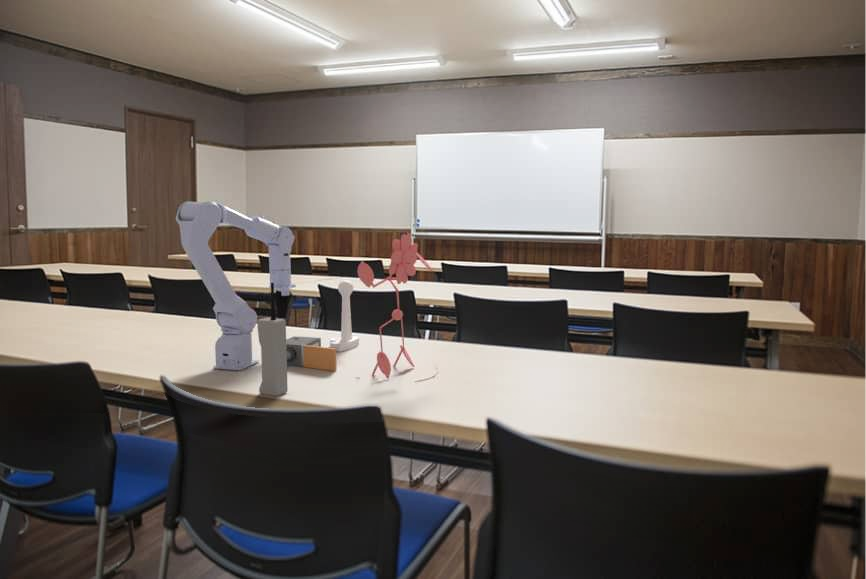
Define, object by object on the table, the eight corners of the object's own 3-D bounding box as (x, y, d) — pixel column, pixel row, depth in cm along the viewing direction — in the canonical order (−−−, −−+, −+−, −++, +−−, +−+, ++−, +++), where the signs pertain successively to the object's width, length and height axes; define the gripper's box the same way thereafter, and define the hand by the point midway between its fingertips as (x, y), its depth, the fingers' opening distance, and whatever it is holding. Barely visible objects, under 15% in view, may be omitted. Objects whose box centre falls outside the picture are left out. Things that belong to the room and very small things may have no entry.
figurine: (348, 381, 153) (349, 234, 148) (408, 360, 175) (411, 231, 170) (401, 392, 145) (404, 237, 140) (457, 368, 167) (461, 233, 162)
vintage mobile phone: (270, 389, 146) (267, 280, 143) (287, 392, 144) (284, 281, 141) (259, 393, 143) (255, 282, 140) (276, 397, 141) (273, 283, 138)
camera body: (301, 367, 166) (301, 344, 166) (273, 365, 169) (273, 342, 168) (321, 357, 177) (320, 336, 176) (294, 355, 180) (294, 334, 179)
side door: (301, 366, 167) (300, 345, 166) (303, 365, 168) (302, 344, 167) (334, 371, 162) (334, 349, 162) (336, 370, 163) (336, 348, 163)
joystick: (343, 352, 184) (342, 282, 182) (320, 349, 187) (319, 281, 184) (362, 344, 194) (361, 278, 192) (341, 342, 197) (339, 277, 195)
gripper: (300, 271, 173) (301, 321, 175) (289, 266, 186) (291, 312, 188) (273, 272, 170) (275, 323, 172) (264, 267, 183) (266, 314, 185)
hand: (281, 318), depth 180 cm, fingers closed
